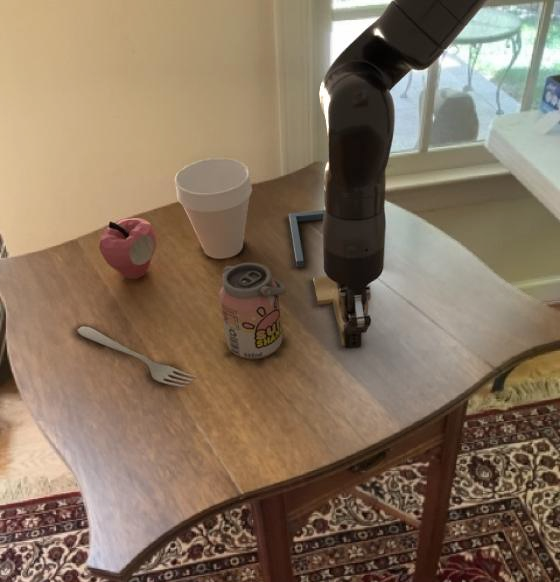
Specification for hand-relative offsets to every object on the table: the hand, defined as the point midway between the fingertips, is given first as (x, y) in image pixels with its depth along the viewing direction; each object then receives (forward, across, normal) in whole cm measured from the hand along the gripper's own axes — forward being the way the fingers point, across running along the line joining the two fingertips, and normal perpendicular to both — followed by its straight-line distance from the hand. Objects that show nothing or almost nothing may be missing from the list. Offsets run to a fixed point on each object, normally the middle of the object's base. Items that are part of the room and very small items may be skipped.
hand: (352, 344), depth 92 cm
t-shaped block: (+1, +10, 0) cm, 10 cm away
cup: (+2, +30, +18) cm, 35 cm away
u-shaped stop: (+1, +30, 0) cm, 30 cm away
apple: (+2, +25, +33) cm, 41 cm away
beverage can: (+2, +4, +13) cm, 14 cm away
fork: (+2, +4, +32) cm, 32 cm away
